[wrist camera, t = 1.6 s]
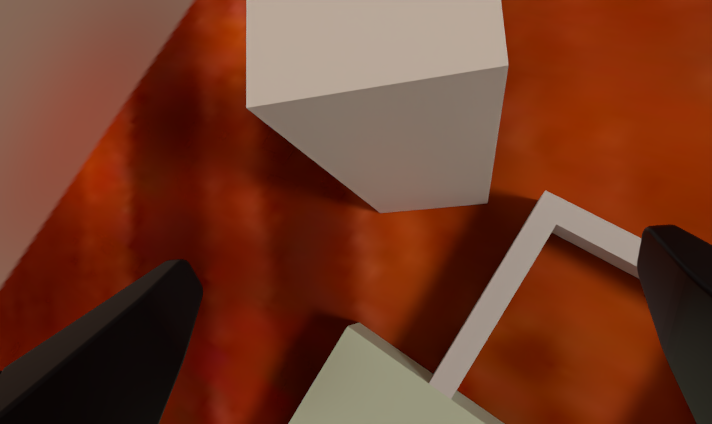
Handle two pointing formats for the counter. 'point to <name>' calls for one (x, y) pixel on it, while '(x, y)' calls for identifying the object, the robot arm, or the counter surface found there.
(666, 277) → the robot arm
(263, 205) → the counter surface
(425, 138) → the grey tall block
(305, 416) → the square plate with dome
